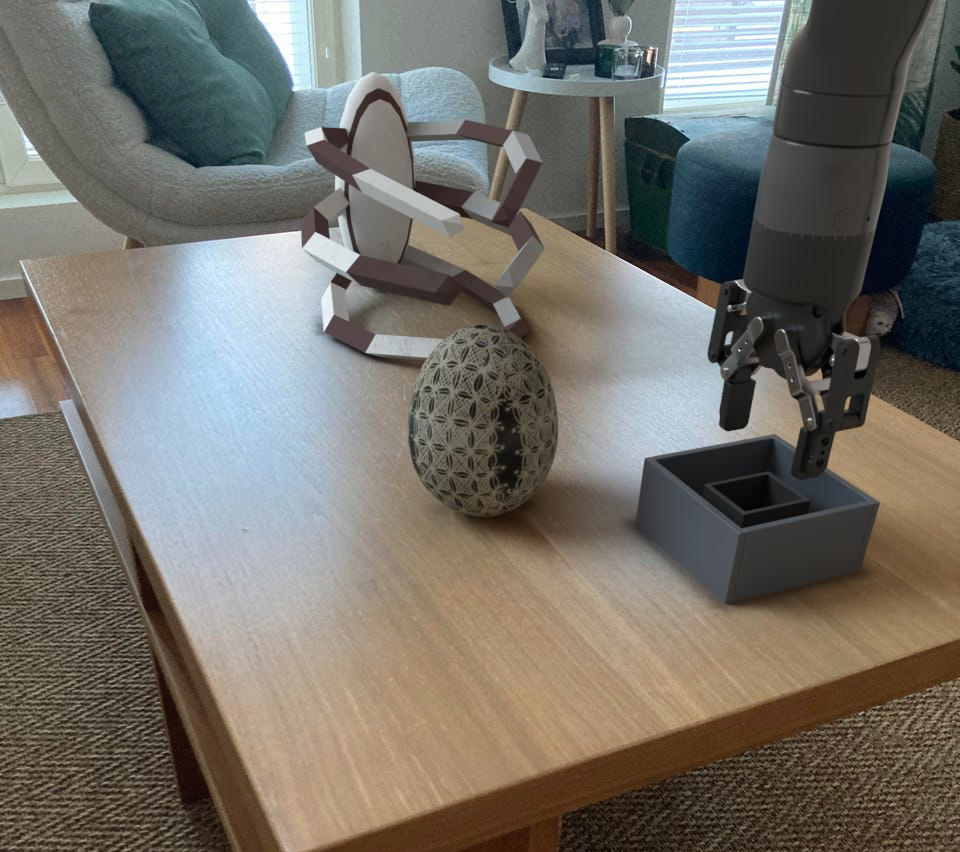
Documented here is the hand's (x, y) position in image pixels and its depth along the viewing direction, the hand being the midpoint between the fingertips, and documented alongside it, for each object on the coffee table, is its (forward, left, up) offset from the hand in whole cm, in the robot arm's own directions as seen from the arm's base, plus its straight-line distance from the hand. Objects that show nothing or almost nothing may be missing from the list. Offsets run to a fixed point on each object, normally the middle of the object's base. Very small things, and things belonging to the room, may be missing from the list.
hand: (767, 451), depth 74 cm
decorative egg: (+16, -14, -9) cm, 23 cm away
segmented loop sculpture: (+5, -56, -9) cm, 57 cm away
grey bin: (0, 0, -9) cm, 9 cm away
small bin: (0, 0, -8) cm, 8 cm away
